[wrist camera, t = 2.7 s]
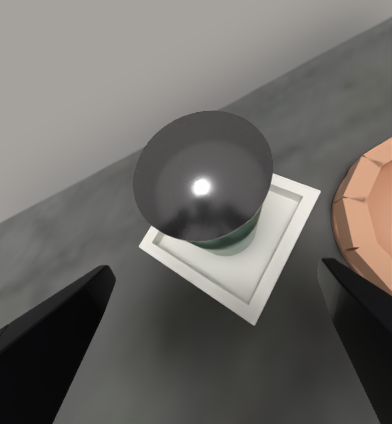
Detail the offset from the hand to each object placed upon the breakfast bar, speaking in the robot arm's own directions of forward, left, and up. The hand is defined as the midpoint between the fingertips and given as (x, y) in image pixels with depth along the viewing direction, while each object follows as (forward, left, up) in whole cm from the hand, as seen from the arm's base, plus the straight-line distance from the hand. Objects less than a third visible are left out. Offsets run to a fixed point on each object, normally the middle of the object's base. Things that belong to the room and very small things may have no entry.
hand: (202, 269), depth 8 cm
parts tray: (+2, -4, -11) cm, 12 cm away
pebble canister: (+2, -4, -10) cm, 11 cm away
